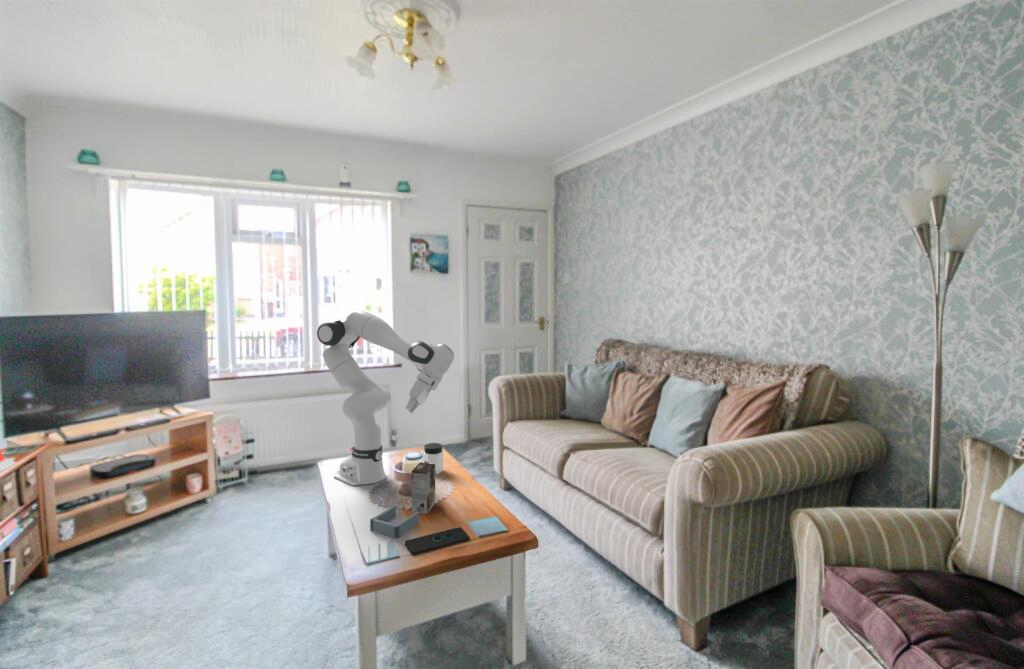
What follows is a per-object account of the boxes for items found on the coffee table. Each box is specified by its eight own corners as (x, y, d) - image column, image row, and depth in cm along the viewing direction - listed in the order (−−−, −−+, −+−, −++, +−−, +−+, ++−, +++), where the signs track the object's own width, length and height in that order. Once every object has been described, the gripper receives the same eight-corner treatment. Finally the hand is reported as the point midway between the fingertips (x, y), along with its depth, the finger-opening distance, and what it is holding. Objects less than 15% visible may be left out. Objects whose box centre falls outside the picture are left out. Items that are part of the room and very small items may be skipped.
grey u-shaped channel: (370, 530, 167) (370, 519, 166) (393, 515, 177) (393, 505, 177) (396, 538, 162) (396, 527, 161) (419, 523, 173) (419, 512, 172)
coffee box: (420, 501, 189) (420, 461, 188) (435, 503, 188) (436, 463, 187) (410, 512, 181) (411, 470, 179) (427, 514, 179) (427, 472, 178)
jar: (446, 472, 220) (446, 446, 219) (430, 476, 215) (430, 450, 214) (436, 466, 227) (436, 441, 226) (420, 470, 222) (420, 444, 221)
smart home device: (470, 536, 161) (412, 552, 151) (470, 541, 162) (412, 557, 151) (460, 526, 168) (404, 540, 158) (459, 530, 169) (404, 545, 158)
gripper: (423, 381, 206) (405, 410, 202) (418, 372, 187) (398, 403, 183) (436, 389, 206) (418, 417, 202) (432, 380, 186) (412, 411, 182)
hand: (408, 410), depth 192 cm, fingers open, 8 cm apart
